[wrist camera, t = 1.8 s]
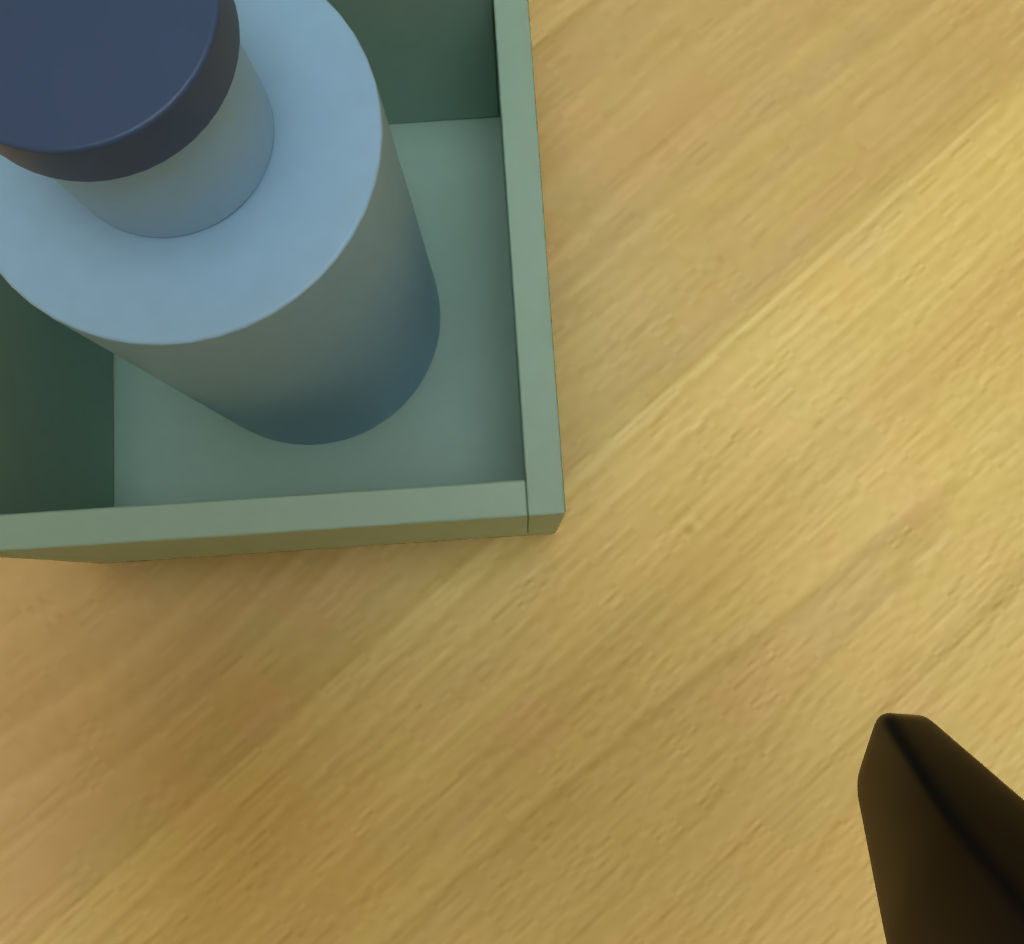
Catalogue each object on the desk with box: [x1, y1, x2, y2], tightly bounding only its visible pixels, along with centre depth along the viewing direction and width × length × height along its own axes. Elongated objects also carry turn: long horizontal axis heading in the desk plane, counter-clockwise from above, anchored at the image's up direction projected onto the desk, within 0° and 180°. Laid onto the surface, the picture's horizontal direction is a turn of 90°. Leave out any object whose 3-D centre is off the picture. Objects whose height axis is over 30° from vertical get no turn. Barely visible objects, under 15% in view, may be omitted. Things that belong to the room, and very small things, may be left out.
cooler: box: [0, 0, 566, 563], centre depth 20 cm, size 11×11×6 cm
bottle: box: [0, 0, 440, 445], centre depth 16 cm, size 6×6×12 cm
